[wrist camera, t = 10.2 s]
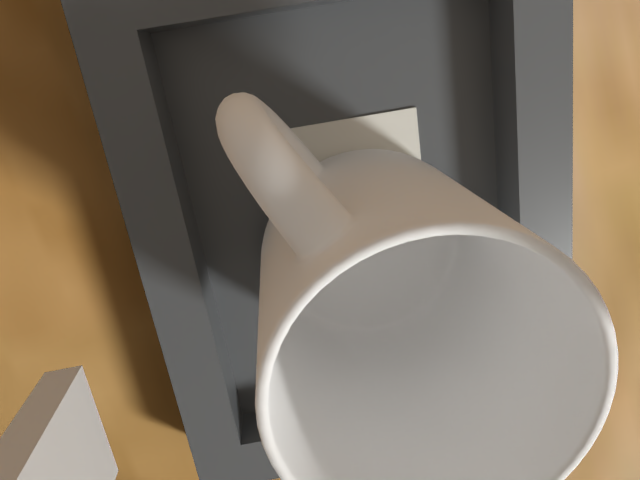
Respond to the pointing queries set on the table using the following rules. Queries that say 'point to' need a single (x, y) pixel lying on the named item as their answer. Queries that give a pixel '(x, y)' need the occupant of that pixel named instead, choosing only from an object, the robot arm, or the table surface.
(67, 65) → the table surface
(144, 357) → the table surface
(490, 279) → the mug
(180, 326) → the gray tray
